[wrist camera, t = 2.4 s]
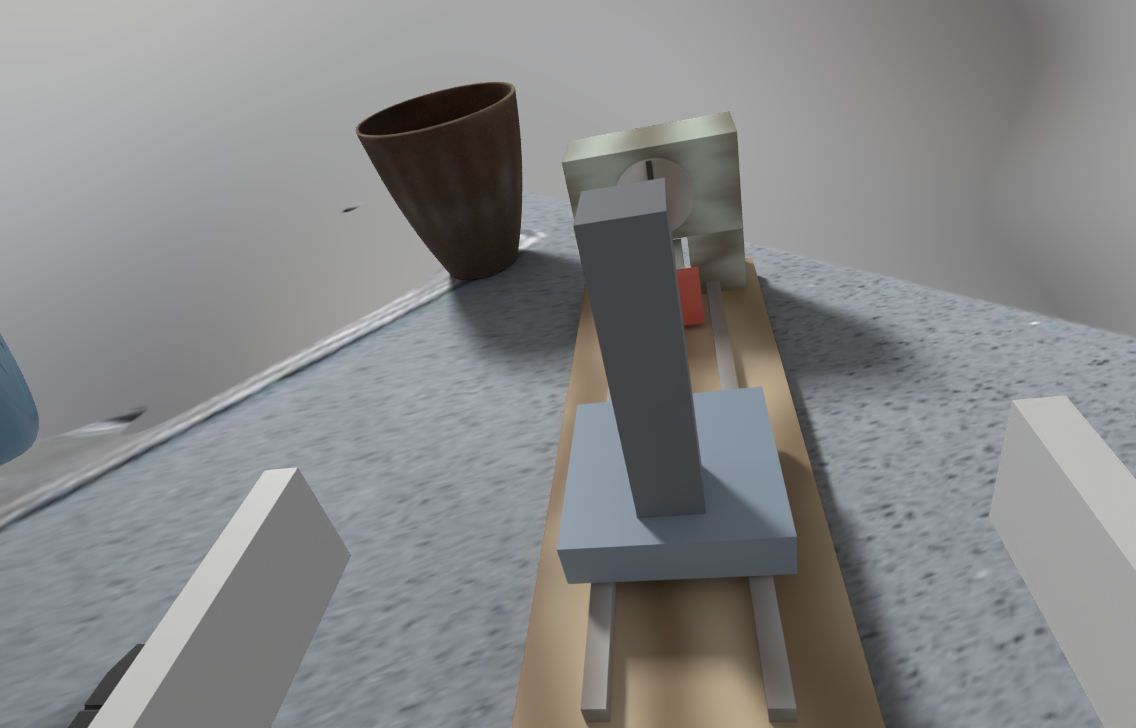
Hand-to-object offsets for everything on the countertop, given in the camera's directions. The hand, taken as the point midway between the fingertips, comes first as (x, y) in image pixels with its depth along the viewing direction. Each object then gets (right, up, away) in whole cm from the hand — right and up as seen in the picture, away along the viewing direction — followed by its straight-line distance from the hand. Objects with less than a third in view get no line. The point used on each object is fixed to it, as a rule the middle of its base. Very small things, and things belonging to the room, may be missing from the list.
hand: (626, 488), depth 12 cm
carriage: (+4, -4, +20) cm, 21 cm away
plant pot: (-10, +13, +56) cm, 58 cm away
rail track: (+6, -2, +28) cm, 29 cm away
